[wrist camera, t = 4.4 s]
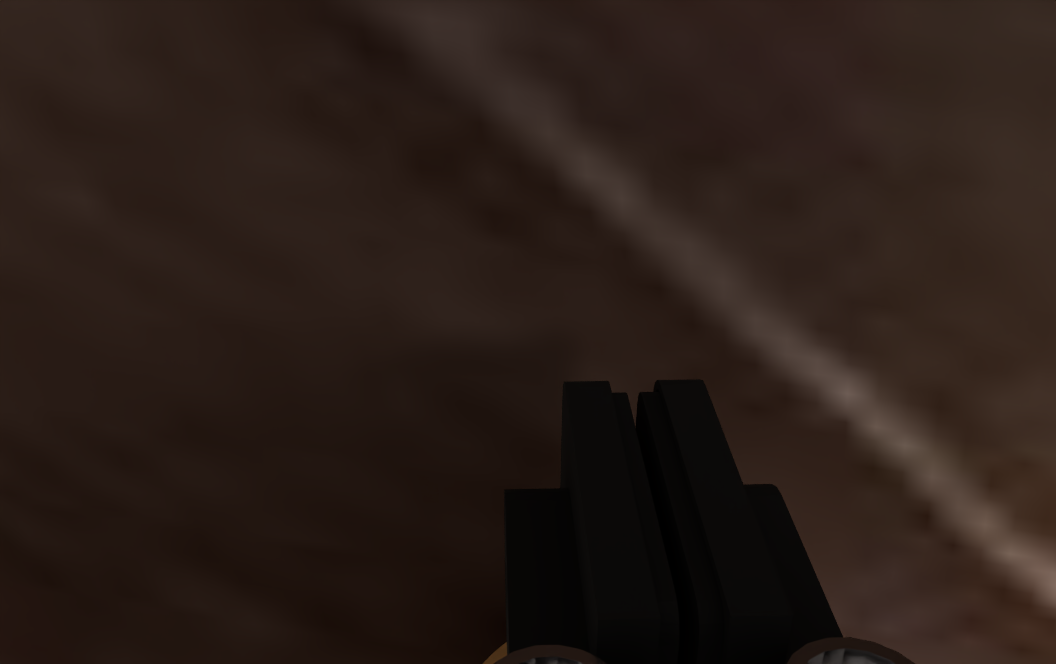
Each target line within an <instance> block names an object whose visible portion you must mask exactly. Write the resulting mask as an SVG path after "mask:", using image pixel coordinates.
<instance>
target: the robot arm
mask: <svg viewBox="0 0 1056 664" xmlns="http://www.w3.org/2000/svg"><path fill="white" fill-rule="evenodd" d="M504 520H505V591H506V633H507V656H505V657H503V658H501V659H500V660H498V661H496V662H495V663H494V664H915V663H913V662H912V661H911V660H909V659H908V658H906V657H905V656H903V655H902V654H900V653H899V652H897V651H895V650H892V649H890V648H887V647H885V646H883V645H880V644H878V643H875V642H872V641H867V640H862V639H857V638H852V637H843V636H842V634H841V631H840V629H839V627H838V624H837V622H836V620H835V617H834V615H833V613H832V611H831V608H830V606H829V604H828V601H827V599H826V597H825V594H824V592H823V590H822V587H821V585H820V583H819V581H818V578H817V576H816V574H815V571H814V569H813V567H812V564H811V562H810V560H809V557H808V555H807V553H806V550H805V548H804V546H803V544H802V541H801V539H800V537H799V534H798V532H797V530H796V527H795V525H794V523H793V520H792V518H791V516H790V514H789V511H788V509H787V507H786V504H785V502H784V500H783V497H782V495H781V493H780V492H779V490H778V488H777V487H776V486H774V485H773V484H753V485H743V483H742V480H741V477H740V475H739V472H738V470H737V467H736V464H735V462H734V459H733V457H732V454H731V451H730V449H729V446H728V443H727V441H726V438H725V436H724V433H723V430H722V428H721V425H720V423H719V420H718V417H717V415H716V412H715V410H714V407H713V404H712V402H711V399H710V396H709V394H708V391H707V389H706V386H705V384H704V382H703V380H657V381H656V382H655V386H654V392H640V393H639V396H638V402H637V417H636V428H635V424H634V420H633V416H632V412H631V407H630V403H629V399H628V395H627V393H612V392H611V387H610V384H609V382H608V381H581V382H564V384H563V396H562V439H561V483H560V488H559V489H510V490H504Z"/></svg>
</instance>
